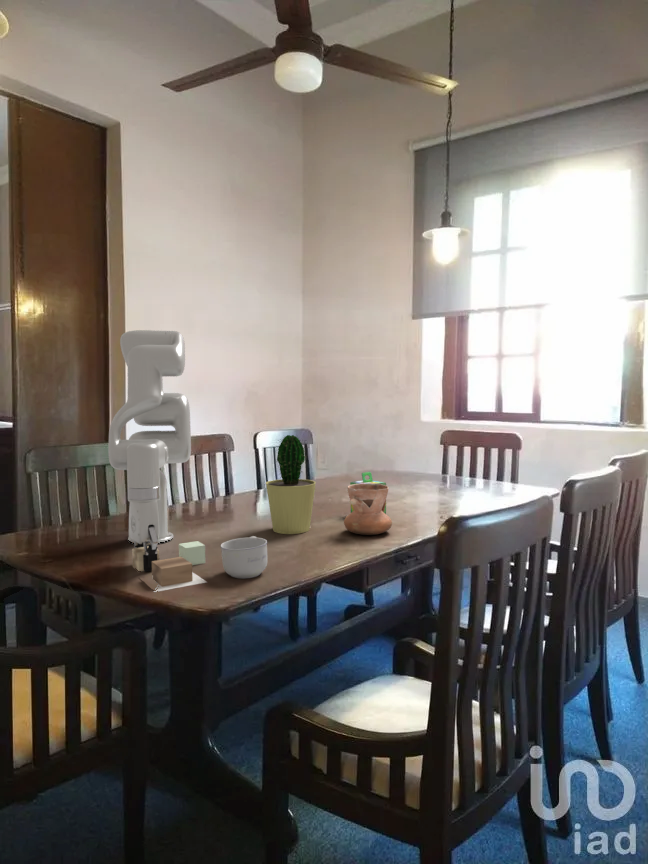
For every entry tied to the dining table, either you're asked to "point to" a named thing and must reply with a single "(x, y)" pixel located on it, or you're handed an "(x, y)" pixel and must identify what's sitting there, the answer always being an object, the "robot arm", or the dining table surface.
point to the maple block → (140, 557)
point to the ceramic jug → (368, 509)
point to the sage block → (192, 552)
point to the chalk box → (367, 482)
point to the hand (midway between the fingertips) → (145, 566)
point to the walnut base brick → (171, 571)
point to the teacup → (244, 556)
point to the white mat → (195, 579)
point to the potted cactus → (290, 490)
